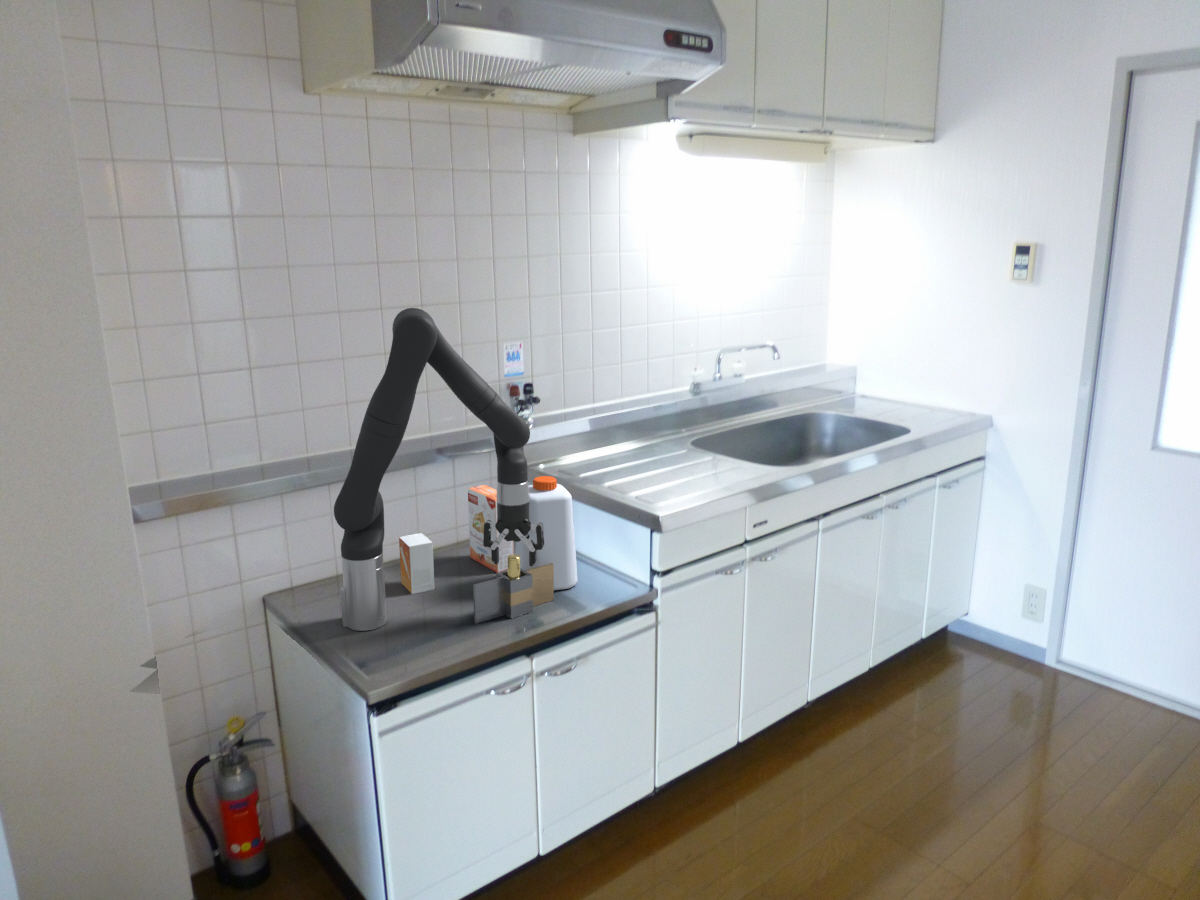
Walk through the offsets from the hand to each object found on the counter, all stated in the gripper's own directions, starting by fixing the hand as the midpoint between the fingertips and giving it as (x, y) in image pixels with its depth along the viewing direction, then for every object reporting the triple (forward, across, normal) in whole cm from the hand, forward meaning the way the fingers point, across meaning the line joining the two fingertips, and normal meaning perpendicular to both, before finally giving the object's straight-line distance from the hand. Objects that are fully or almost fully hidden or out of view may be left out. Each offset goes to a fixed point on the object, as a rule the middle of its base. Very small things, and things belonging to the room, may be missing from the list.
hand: (514, 564), depth 207 cm
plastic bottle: (+12, +4, +19) cm, 23 cm away
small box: (+12, -28, +11) cm, 32 cm away
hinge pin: (+12, 0, 0) cm, 12 cm away
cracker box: (+12, -13, +29) cm, 34 cm away
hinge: (+12, 0, 0) cm, 12 cm away
